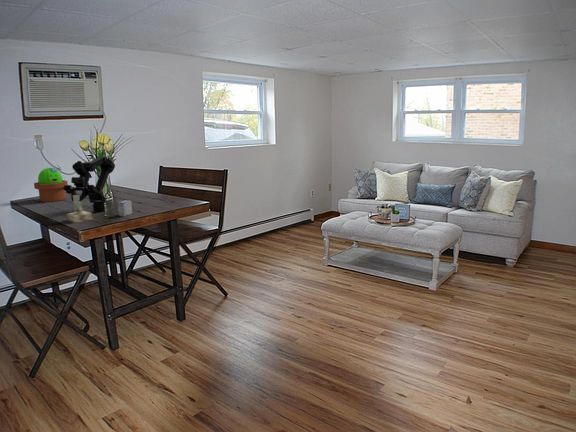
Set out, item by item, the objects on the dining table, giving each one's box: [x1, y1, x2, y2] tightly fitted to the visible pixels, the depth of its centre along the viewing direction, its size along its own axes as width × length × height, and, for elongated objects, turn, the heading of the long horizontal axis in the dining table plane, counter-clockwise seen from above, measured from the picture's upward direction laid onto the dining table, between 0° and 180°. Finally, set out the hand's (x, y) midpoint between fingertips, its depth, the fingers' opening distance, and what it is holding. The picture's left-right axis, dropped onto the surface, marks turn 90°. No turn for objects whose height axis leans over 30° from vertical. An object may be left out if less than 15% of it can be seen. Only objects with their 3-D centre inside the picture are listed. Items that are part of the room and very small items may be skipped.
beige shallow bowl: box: [66, 210, 94, 224], centre depth 264 cm, size 11×11×4 cm
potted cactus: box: [33, 167, 69, 203], centre depth 329 cm, size 22×22×25 cm
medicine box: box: [117, 199, 133, 217], centre depth 274 cm, size 8×4×9 cm, turn 163°
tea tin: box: [72, 193, 84, 212], centre depth 262 cm, size 5×5×10 cm
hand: (76, 200), depth 260 cm, fingers closed on tea tin, 4 cm apart
